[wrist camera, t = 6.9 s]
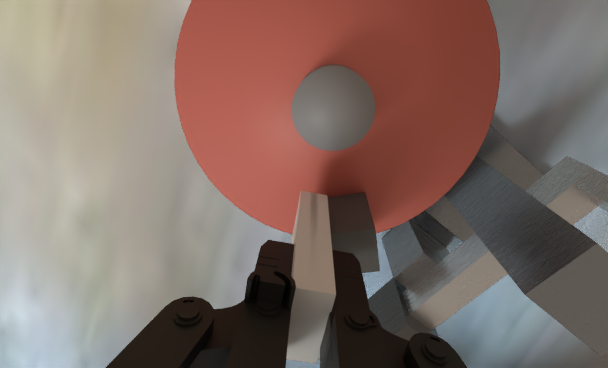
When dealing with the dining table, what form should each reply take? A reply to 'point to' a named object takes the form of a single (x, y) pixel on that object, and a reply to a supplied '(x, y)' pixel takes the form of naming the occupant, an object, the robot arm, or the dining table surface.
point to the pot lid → (337, 106)
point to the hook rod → (481, 257)
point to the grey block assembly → (514, 241)
